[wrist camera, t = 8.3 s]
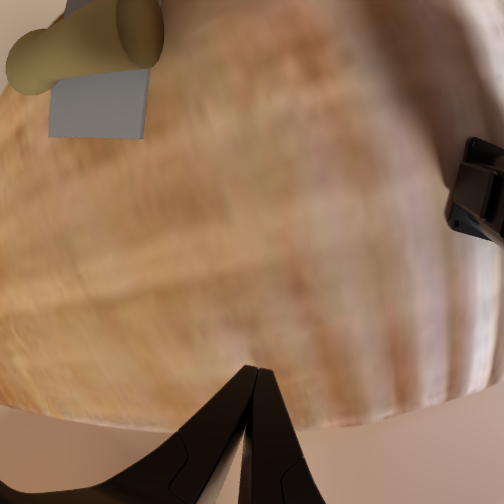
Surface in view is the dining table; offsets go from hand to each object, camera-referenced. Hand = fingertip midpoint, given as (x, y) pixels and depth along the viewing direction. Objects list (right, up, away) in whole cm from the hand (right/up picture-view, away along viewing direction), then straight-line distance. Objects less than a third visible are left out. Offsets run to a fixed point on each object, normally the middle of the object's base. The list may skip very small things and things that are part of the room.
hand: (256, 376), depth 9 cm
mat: (-11, +19, +8) cm, 24 cm away
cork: (-6, +17, +5) cm, 19 cm away
